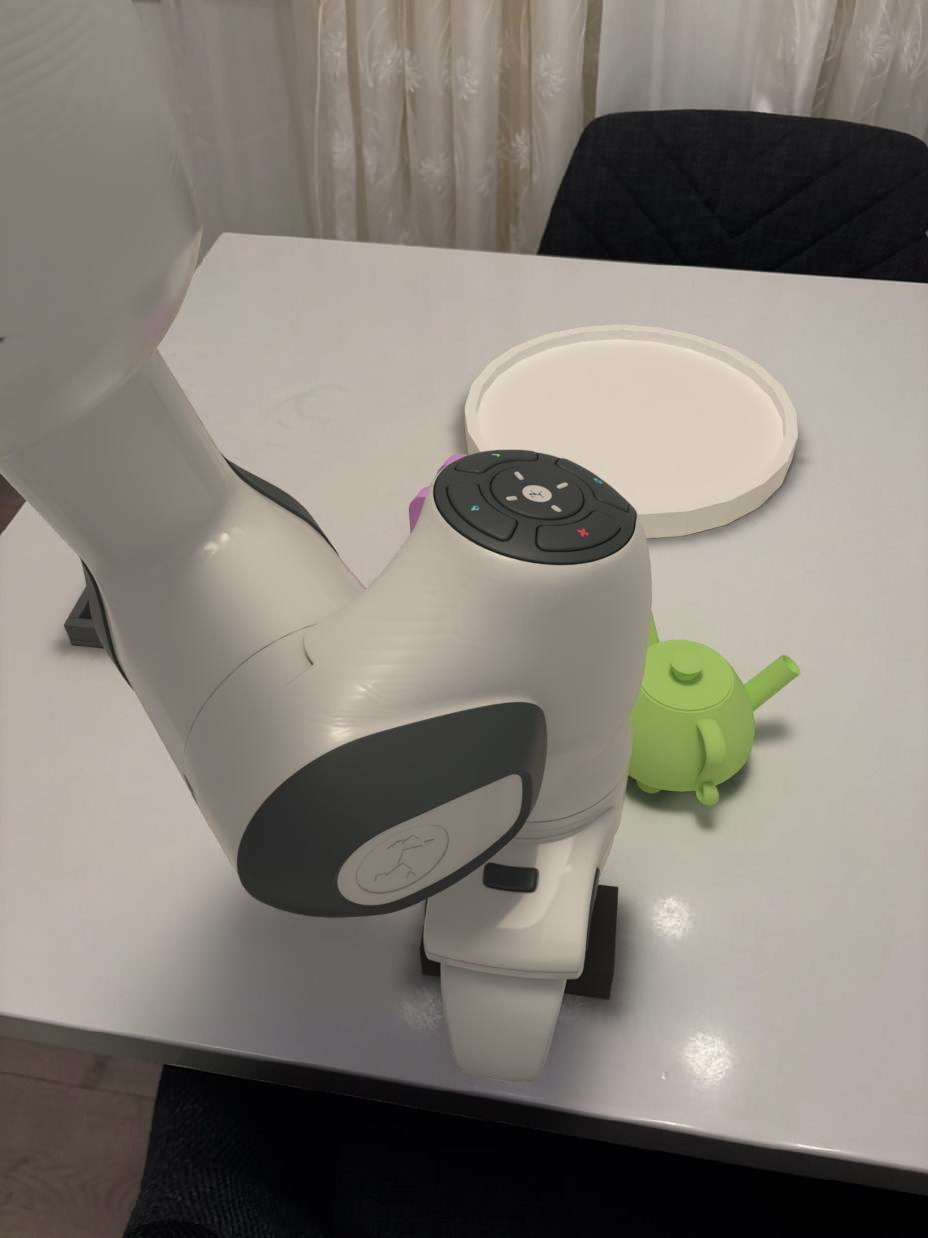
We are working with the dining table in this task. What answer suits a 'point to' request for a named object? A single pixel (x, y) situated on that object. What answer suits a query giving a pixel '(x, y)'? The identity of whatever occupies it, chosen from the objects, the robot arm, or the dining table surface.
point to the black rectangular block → (597, 956)
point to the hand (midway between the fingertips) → (520, 930)
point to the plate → (643, 419)
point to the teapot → (696, 716)
